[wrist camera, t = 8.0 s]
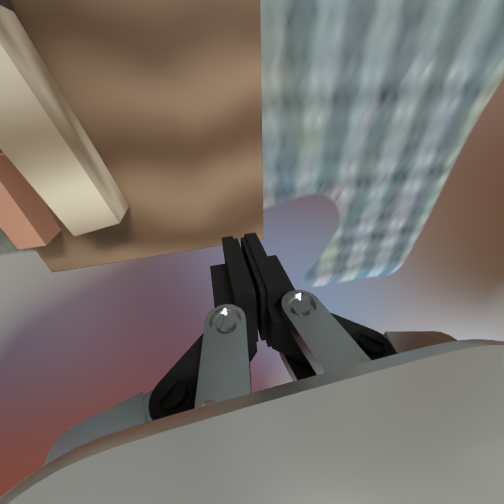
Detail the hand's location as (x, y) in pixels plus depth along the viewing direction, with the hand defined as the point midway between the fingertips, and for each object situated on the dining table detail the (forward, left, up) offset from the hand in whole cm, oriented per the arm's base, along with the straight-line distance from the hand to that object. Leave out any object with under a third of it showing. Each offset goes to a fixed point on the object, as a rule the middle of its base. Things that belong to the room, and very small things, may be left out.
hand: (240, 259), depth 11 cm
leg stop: (-1, -14, -10) cm, 18 cm away
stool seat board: (-4, -6, -12) cm, 14 cm away
